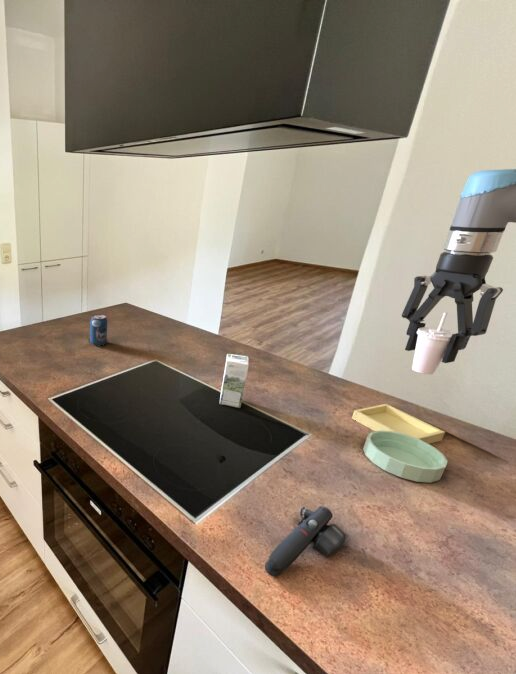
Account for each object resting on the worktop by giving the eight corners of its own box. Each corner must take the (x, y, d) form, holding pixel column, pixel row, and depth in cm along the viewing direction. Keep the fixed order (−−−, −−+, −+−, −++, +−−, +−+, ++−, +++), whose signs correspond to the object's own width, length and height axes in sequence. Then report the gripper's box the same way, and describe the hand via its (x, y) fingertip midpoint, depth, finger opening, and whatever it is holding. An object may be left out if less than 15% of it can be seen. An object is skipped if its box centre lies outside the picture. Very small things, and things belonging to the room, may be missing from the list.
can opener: (308, 516, 68) (314, 493, 66) (349, 545, 63) (358, 521, 61) (246, 558, 61) (252, 534, 59) (287, 595, 55) (295, 570, 53)
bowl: (455, 476, 77) (463, 461, 76) (411, 490, 74) (418, 474, 73) (389, 439, 89) (394, 426, 88) (349, 450, 86) (353, 436, 84)
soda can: (98, 348, 146) (99, 320, 142) (86, 343, 151) (86, 316, 147) (110, 343, 150) (110, 316, 146) (97, 339, 155) (98, 312, 151)
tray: (441, 440, 89) (445, 431, 88) (407, 449, 86) (411, 440, 85) (382, 411, 101) (385, 403, 100) (351, 418, 98) (354, 410, 97)
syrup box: (240, 399, 108) (248, 355, 103) (240, 409, 103) (249, 363, 98) (220, 395, 110) (227, 352, 105) (219, 405, 105) (226, 360, 100)
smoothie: (448, 373, 81) (472, 315, 76) (432, 379, 79) (455, 319, 74) (413, 363, 87) (434, 307, 82) (398, 367, 85) (417, 311, 80)
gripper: (401, 248, 81) (371, 342, 89) (523, 260, 64) (472, 376, 72) (424, 246, 83) (393, 338, 91) (548, 258, 66) (496, 371, 74)
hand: (428, 355), depth 82 cm, fingers closed on smoothie, 6 cm apart
